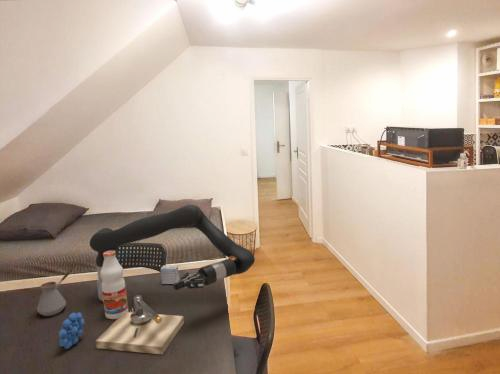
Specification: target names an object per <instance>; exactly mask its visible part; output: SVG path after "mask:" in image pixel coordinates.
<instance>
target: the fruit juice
mask: <svg viewBox="0 0 500 374" xmlns="http://www.w3.org/2000/svg"><path fill="white" fill-rule="evenodd" d="M115 256H116V252H115V251H114V250H110V251H106V252H104V253H103V257H104V262H103V266H102V269H101V271H100V276H101V279H102V285H101V286H102V295H103V301H102V303H103V308H104V310H103V311H104V315H105V318H106V319H108V320H109V319H110V320H117V319H118V318H120V317H121V316H122V315H123V314H124V313H125V312H129V304H128V297H127V296H128V295H127V288H126V281H125V279H124V268H123V266H122V265H121V264H120V262H119V261H118V257H117V258H116V257H115Z"/></svg>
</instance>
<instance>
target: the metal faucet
mask: <svg viewBox="0 0 500 374" xmlns="http://www.w3.org/2000/svg"><path fill="white" fill-rule="evenodd" d="M142 297H143V296H142V295H140V294H135V295H134V296H133V302H134V303H133V304H134V310H135V311H133V312H132V314H131V316H130V318H131V323H132V324H135V325H140V324H144V323H147V322H149V321H150V320H151V318H152V319H153V320H154V321H155V322H156V323H157V324H159V323H161V322H162V318H161V317H160V316H159V315H158V313H156V311H155V310H154V309H152V307H150V306H149V305H148V304H147V303H146V302H145V301H144V300H143V298H142Z"/></svg>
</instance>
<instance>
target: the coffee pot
mask: <svg viewBox="0 0 500 374" xmlns="http://www.w3.org/2000/svg"><path fill="white" fill-rule="evenodd" d="M73 270H74V271H76V267H75V266H72V267H71V269H69V270H68V271H67V272H66V273H65V274H64V275H63V276H62V278H61V279H60V281H59V282H56V281H47V282H44V283H42V284H41V285H40V286H39V288H40V289H41V294H40V297H39V301H38V304H37V308H36V311H37V312H38V314H40V315H42V316H44V317H51V316H55V315H58V314H59V313H61V312H62V311H63V310H64V309H65V307H66V305H67V300H66V299H65V298H64V297H63V295H62V294H61V293H60V291H59V290H58V287H59V286H60V284H62V282H63V281H64V280H65V279H66V278H67V277H68V276H69V275H70V274H71V272H73Z"/></svg>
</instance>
